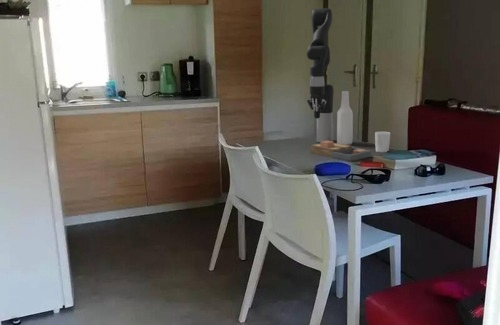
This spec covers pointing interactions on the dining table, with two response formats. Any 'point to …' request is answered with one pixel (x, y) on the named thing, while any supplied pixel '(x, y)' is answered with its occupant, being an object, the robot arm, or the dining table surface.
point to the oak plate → (328, 149)
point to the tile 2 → (358, 151)
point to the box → (350, 154)
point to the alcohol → (345, 121)
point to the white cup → (382, 141)
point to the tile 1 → (327, 144)
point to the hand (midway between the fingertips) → (317, 118)
